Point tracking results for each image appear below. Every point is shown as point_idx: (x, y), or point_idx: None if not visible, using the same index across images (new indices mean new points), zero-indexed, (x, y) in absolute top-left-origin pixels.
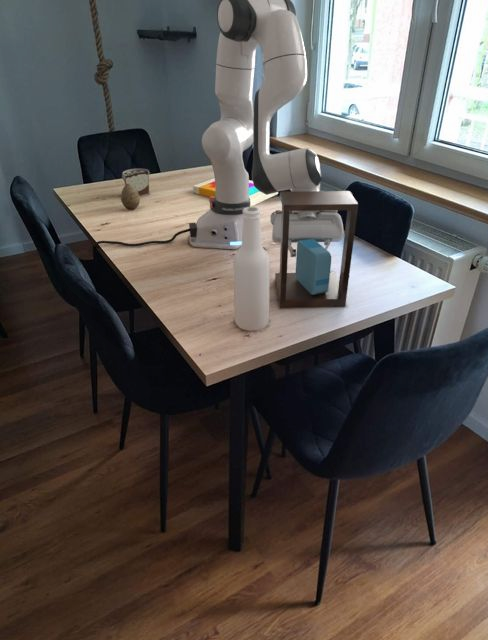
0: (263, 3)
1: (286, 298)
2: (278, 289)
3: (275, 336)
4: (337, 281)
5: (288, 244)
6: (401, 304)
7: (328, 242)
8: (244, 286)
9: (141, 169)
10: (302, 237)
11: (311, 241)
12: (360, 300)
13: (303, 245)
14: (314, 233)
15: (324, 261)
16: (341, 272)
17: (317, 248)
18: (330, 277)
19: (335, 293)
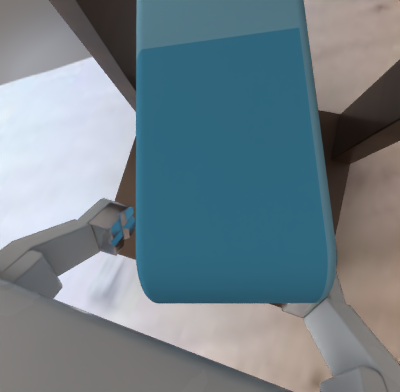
0: None
1: (334, 122)
2: (344, 188)
3: (394, 9)
4: (126, 182)
5: (389, 359)
6: (34, 76)
7: (22, 247)
8: None
9: None
10: (241, 382)
11: (192, 199)
12: (110, 115)
13: (321, 137)
14: (58, 383)
15: None
16: (126, 45)
17: (207, 18)
18: (133, 215)
19: None
